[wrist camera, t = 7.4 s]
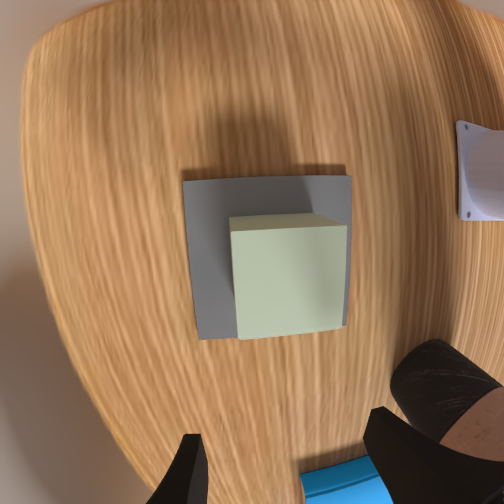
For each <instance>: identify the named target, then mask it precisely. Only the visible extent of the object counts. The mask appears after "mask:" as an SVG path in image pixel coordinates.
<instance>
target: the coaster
mask: <svg viewBox="0 0 504 504" xmlns="http://www.w3.org/2000/svg"><path fill="white" fill-rule="evenodd" d="M183 194H184V208H185V221H186V233H187V244H188V254H189V264H190V274H191V283H192V291H193V299H194V307H195V315H196V322H197V330H198V337H199V340H205V339H223V338H237V337H238V332H237V322H236V312H235V301H234V287H233V273H232V258H231V242H230V225H229V217H238V216H256V215H275V214H297V213H316V214H318V215H321V216H324V217H326V218H329V219H331V220H334V221H337V222H339V223H342V224H344V225H347V247H346V273H345V291H344V306H343V318H342V326H344V325H346V322H347V310H348V297H349V282H350V263H351V229H352V191H351V176H345V175H297V176H261V177H239V178H222V179H207V180H194V181H183Z"/></svg>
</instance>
